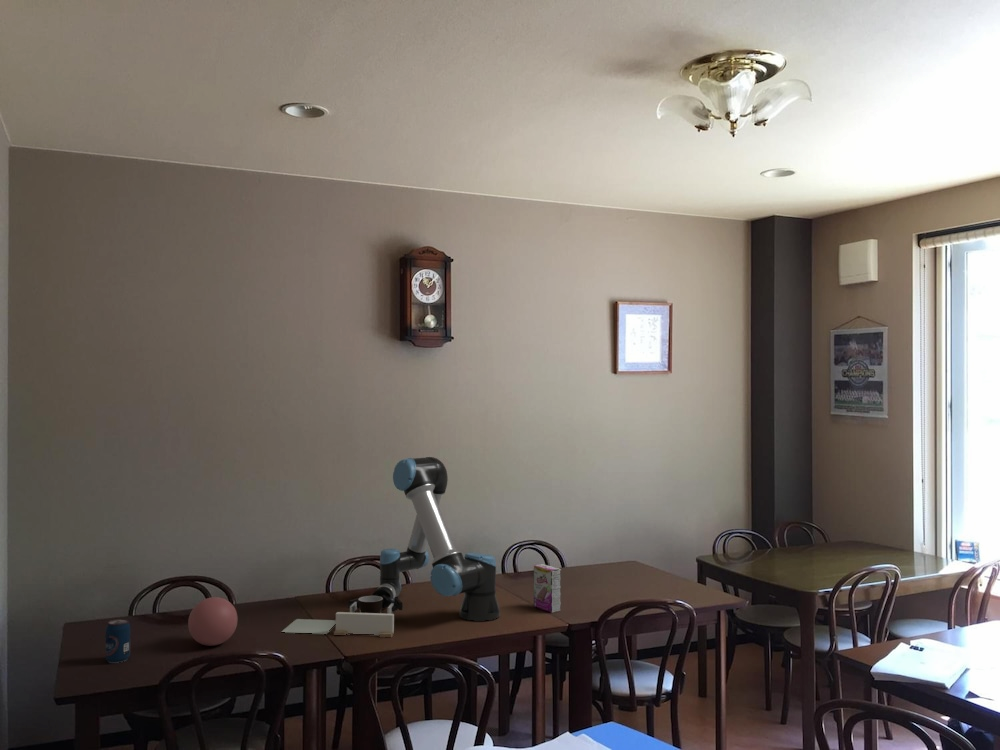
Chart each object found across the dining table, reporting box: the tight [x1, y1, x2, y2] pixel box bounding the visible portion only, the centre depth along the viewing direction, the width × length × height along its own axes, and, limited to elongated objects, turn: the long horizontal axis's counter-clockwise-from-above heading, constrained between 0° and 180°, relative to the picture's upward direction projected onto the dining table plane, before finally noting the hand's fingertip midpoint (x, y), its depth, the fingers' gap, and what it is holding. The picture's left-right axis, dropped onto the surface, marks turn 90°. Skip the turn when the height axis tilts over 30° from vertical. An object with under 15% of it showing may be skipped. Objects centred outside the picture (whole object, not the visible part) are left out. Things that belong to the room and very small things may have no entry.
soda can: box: [104, 618, 131, 664], centre depth 252 cm, size 7×7×12 cm
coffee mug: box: [358, 595, 383, 613], centre depth 290 cm, size 12×9×10 cm
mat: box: [281, 618, 336, 635], centre depth 288 cm, size 16×16×1 cm
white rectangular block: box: [333, 611, 395, 638], centre depth 279 cm, size 20×4×7 cm, turn 85°
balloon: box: [187, 596, 239, 647], centre depth 270 cm, size 15×20×15 cm
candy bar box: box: [533, 563, 562, 614], centre depth 314 cm, size 11×5×16 cm, turn 37°
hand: (369, 611), depth 287 cm, fingers open, 13 cm apart
